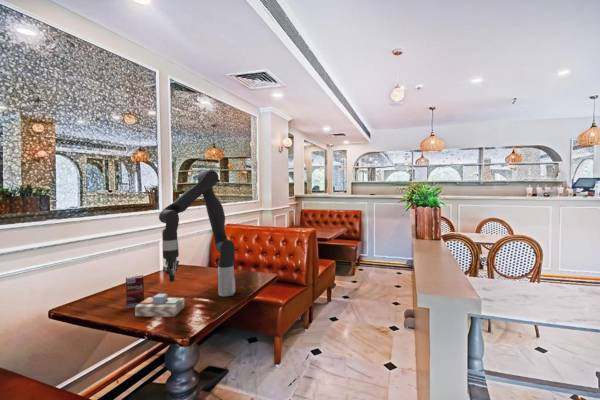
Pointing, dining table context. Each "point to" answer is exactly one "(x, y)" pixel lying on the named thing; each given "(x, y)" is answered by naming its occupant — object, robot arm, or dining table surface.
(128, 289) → the supplement box
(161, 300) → the pale blue cube
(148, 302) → the tile terracotta
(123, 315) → the dining table surface
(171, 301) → the tile sage
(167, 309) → the tile board
